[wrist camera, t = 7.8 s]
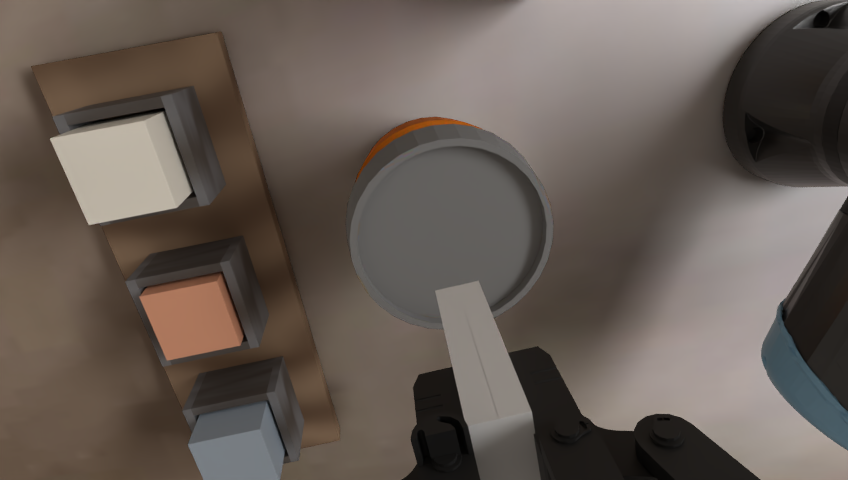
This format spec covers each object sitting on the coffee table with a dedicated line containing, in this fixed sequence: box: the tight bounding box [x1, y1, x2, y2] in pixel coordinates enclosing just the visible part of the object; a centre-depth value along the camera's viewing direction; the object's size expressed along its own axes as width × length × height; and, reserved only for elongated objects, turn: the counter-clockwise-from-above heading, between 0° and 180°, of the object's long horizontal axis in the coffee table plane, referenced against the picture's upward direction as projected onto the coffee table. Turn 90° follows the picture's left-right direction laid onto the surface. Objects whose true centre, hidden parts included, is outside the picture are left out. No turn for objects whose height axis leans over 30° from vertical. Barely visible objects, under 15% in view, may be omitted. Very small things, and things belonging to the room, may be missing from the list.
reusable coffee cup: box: [346, 117, 553, 329], centre depth 38 cm, size 13×13×15 cm
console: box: [31, 32, 340, 464], centre depth 43 cm, size 38×13×6 cm, turn 10°
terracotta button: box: [139, 271, 245, 361], centre depth 42 cm, size 6×6×5 cm
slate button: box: [188, 400, 286, 480], centre depth 44 cm, size 6×6×5 cm
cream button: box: [50, 109, 194, 225], centre depth 35 cm, size 6×6×5 cm
